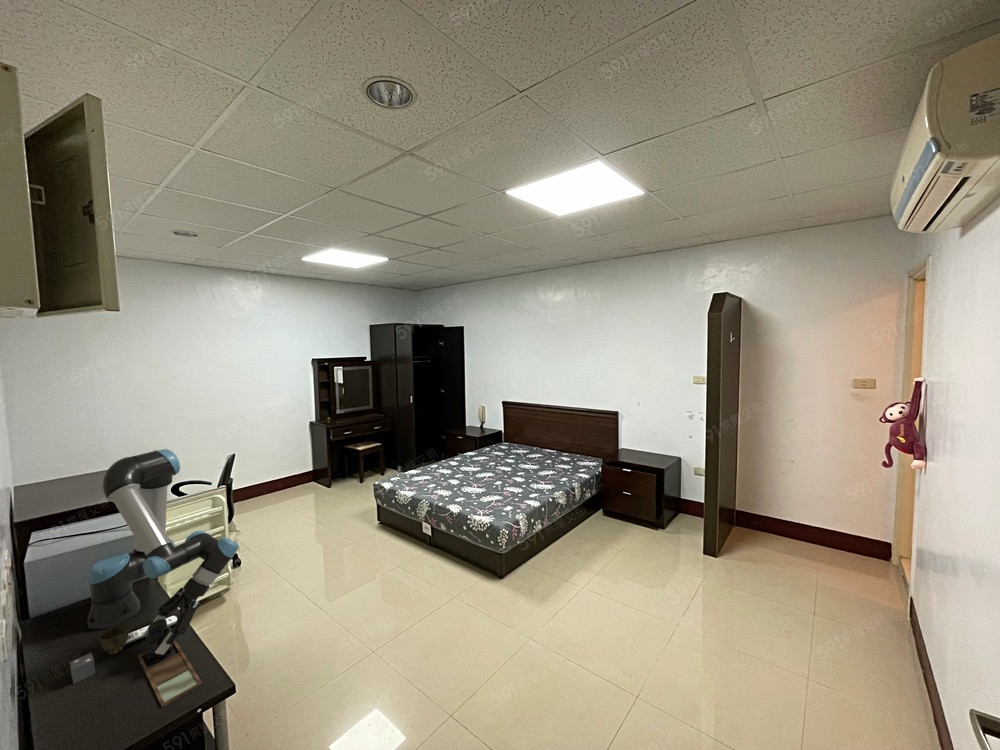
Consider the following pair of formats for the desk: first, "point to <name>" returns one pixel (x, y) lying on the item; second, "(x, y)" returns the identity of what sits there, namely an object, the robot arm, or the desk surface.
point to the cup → (114, 638)
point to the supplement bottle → (157, 640)
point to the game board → (171, 677)
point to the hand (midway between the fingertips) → (152, 644)
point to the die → (82, 668)
